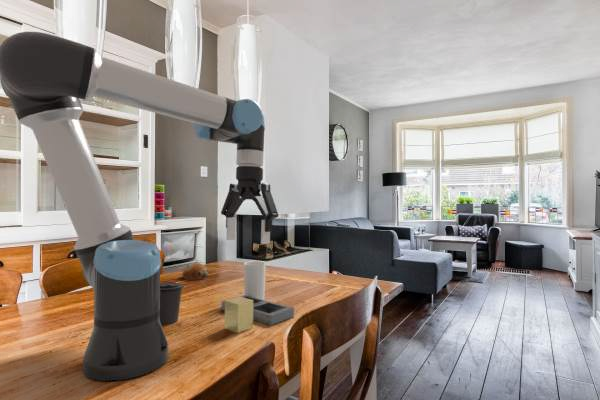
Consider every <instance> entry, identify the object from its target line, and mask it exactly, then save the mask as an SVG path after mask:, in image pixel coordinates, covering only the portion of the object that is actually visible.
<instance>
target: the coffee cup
mask: <svg viewBox="0 0 600 400" xmlns="http://www.w3.org/2000/svg"><path fill="white" fill-rule="evenodd" d="M182 289H184V285H183V283H179V282H175V281H167V282H166V281H165V282H160V323H161V326H167V325H173V324H176V323H177V322H178V321H179V315H180V306H181V298H182Z"/></svg>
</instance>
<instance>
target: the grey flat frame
mask: <svg viewBox="0 0 600 400" xmlns="http://www.w3.org/2000/svg"><path fill="white" fill-rule="evenodd" d="M237 297H238V296H236V297H235V298H237ZM239 297H243V298H247V299H251V300H253V321H255V322H259V323H262V324H265V325H268V326H273V325H277V324H279V323H282V322H285V321H287V320H290V319H292V318H294V317H295V316H294V315H295V308H294V307H292V306H287V305H283V304H280V303H277V302H273V301H268V300H265V299H264V300H261V299H257V298H254V297H250V296H246V295H240V296H239ZM233 298H234V297H233ZM233 298H231V299H233ZM229 299H230V298H228V299H226V300H229ZM226 300H222V301H221V311H224V312H225V301H226ZM269 312H270V313H269Z"/></svg>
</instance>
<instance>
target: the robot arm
mask: <svg viewBox="0 0 600 400" xmlns="http://www.w3.org/2000/svg"><path fill="white" fill-rule="evenodd" d="M0 85H1V88H2V90H3V92H4V95H6V97H8V100H9V101H10V104H11V106H12V108H13V111H14V114H15V116H16V117H17V120H18V122H19V124H21V125H23V126H25V127H27V128H29V129H31V130H32V133H33V135H34V137H35V139H36V142H37V144H38V146H39V149H40V151H41V154H42V155H43V157H44V161H45V163H46V165H47V167H48V169H49V172H50V174H51V177H52V179H53V181H54V184H55V186H56V189H57V191H58V193H59V195H60V198H61V200H62V202H63V205H64V207H65V210H66V212H67V215H68V217H69V218H70V221H71V223H72V226H73V228H74V231H75V233H76V236H77V240H76V242H75V245H74V246H73V249H74V251H75V253H76V256H77V258H78V261H79V264H80V265H81V268H82V274H83V276H84V279H85V281H86V282H87V284H88V285H90V286H91V288H92V290H93V291H94V293H93V294H94V295H93V301H94V303H93V330H92V332H91V336H90V338H89V341H88V344H87V346H86V349H85V352H84V354H83V357H82V373H83V375H84V376H85V377H86V378H88V379H91V380H94V381H101V382H102V381H104V382H113V381H112V380H117V381H125V380H130V379H133V377H135V378H137V376H138V377H140V376H141V375H142V376H144V374H145V375H147V374H149V372H150V373H151V371H152V372H154V371H156V370H158V369H159V368H161V367H162V366H164V365H165V363H167V362H168V359H169V343H168V340H167V336H166V335H165V332H164V329H163V325H161V323H160V283H161V267H162V259H161V250H160V248H159V246H158V245H156V244H155V243H152V242H150V241H143V240H137V239H135V237H134V235H133V233H132V230H131V228H130V227H129V226H127V225H124V224H122V223H121V222H120V220H119V217H118V215H117V211H116V209H115V207H114V205H113V203H112V199H111V197H110V194H109V191H108V190H107V187H106V184H105V181H104V179H103V177H102V175H101V172H100V169H99V167H98V164H97V162H96V159H95V156H94V155H93V152H92V149H91V146H90V144H89V142H88V139H87V137H86V134H85V132H84V129H83V126H82V123H81V122H80V118H81V116H82V114H83V113H84V107H83V105H82V103H81V100H85V101H87V100H89V99H91V98H94V97H95V98H98V99H102V100H106V101H109V102H113V103H117V104H121V105H124V106H128V107H133V108H134V109H135V108H136V109H139V110H143V111H147V112H150V113H155V114H159V115H162V116H166V117H170V118H173V119H176V120H177V119H178V120H181V121H185V122H190V123H193V131H194V134H195V136H196V137H197V138H198V139H201V140H205V141H209V142H210V141H211V142H220V143H228V144H234V145H235V144H236V162H235V164H236V165H237V167H236V169H235V179H236V180H237V183H230V184H229V187H228V188H229V190H228V192H227V195H226V198H225V201H224V203H223V205H222V208H221V211H220V214H221V215H222V216H224V217H226V219H225V227H226V241H232V240H234V241H235V240H236V232H237V231H236V230H237V229H236V228H237V227H236V226H237V218H236V214H237V212H238V210H239V209H240V207H241V206H242V204H243V203H244V202H245V201H246V200H252V201H253V202H254V203H255V205H256V206H257V209H258V211H259V213H260V214H261V216H262V219H261V227H260V228H261V230H260V231H261V232H260V245H269V244H270V243H271V242H270V241H271V232H272V230H273V220H274V219H277V218H278V217H279V212H278V209H277V207H276V204H275V201H274V198H273V195H272V192H271V184H270V183H266V182H265V183H264V182H262V181H263V179H264V168H263V167H262V166H264V148H265V130H266V127H265V125H266V124H265V115H264V114H263V110H262V108H261V106H260V105H259V104H258V103H257V102H256V101H254V100H253V99H250V98H245V99H244V98H243V99H238V100H235V99H231V98H229V97H225V96H222V95H219V94H216V93H213V92H209V91H206V90H204V89H200V88H198V87H194V86H191V85H188V84H186V83H182V82H179V81H176V80H173V79H170V78H167V77H164V76H162V75H161V76H160V75H158V74H155V73H153V72H149V71H147V70H143V69H140V68H137V67H135V66H134V67H133V66H130V65H128V64H125V63H121V62H119V61H116V60H113V59H111V58H106V57H103V56H101V54H100V53H99V52H98V50H97V49H96V48H94V47H91V46H89V45H85V44H83V43H80V42H76V41H73V40H71V39H67V38H64V37H61V36H58V35H53V34H50V33H46V32H39V31H22V32H17V33H14V34H11V35H10V36H9V37H6V38H5V39H4V40H3V41H2V43H1V44H0ZM157 368H158V369H157ZM129 378H130V379H129ZM124 379H125V380H124ZM106 380H107V381H106ZM109 380H111V381H109Z"/></svg>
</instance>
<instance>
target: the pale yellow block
mask: <svg viewBox="0 0 600 400" xmlns="http://www.w3.org/2000/svg"><path fill="white" fill-rule="evenodd" d="M236 297H237V298H236ZM236 297H233V299H232V298H228V299H229V300H228V299H226V301H225V300H224V301H225V311H224V329H225V330H228V331H230V332H233V333H236V334H240V333H243V332H246V331H248V330H251V329H254V320H253V300H251V299H247V298H243V297H240V296H236Z"/></svg>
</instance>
